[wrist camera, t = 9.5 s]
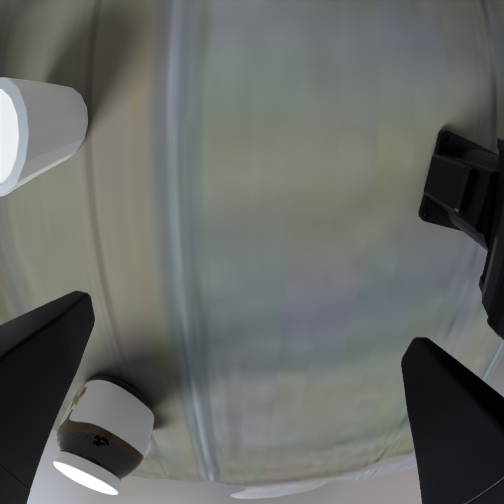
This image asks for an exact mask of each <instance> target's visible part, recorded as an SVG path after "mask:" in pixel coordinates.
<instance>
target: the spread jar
mask: <svg viewBox="0 0 504 504" xmlns="http://www.w3.org/2000/svg"><path fill="white" fill-rule="evenodd" d="M153 425H154V414H153V411H152V409H151V407H150V406H149V404H148V403H147V402H146V400H145V399H144V398H143V397H142V396H141V395H140V394H139V393H138V392H137V391H136V390H135V389H134V388H133V387H131V386H130V385H128V384H126V383H125V382H123V381H120V380H118V379H115V378H112V377H108V376H96V377H93V378H91V379H90V380H88V381H87V382H86V383H85V384H84V385H83V386H82V387H81V388H80V389H79V391H78V392H77V393H76V395H75V396H74V398H73V400H72V401H71V403H70V405H69V407H68V409H67V411H66V413H65V415H64V417H63V419H62V421H61V423H60V425H59V428H58V431H57V444H58V447H59V449H60V451H59V452H58V453H57V455H56V457H55V460H54V462H53V463H54V465H55V467H56V468H57V469H58V470H60V471H61V472H62V473H64V474H65V475H66V476H68V477H69V478H71V479H73V480H75V481H77V482H78V483H80V484H82V485H85V486H86V487H89V488H91V489H94V490H96V491H100V492H102V493H107V494H111V495H117V494H118V493H119V489H120V486H121V479H123V478H125V477H126V476H128V475H129V474H131V473H132V472H133V471H134V470H136V468H137V467H138V466H139V465H140V463H141V462H142V460H143V459H144V458H145V457H146V456H147V455H148V454H149V452H150V449H151V443H150V437H151V433H152V429H153Z"/></svg>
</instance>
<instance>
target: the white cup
mask: <svg viewBox="0 0 504 504" xmlns="http://www.w3.org/2000/svg"><path fill="white" fill-rule="evenodd" d="M87 127H88V113H87V106H86V104H85V102H84V100H83V98H82V95H81V94H79V93H78V92H77V91H76V90H75V89H73V88H72V87H67V86H61V85H56V84H50V83H44V82H37V81H30V80H23V79H14V78H4V77H0V196H5V195H7V194H8V193H10V192H11V191H13V190H15V189H16V188H18V187H19V186H21V185H23V184H24V183H26V182H27V181H29V180H31V179H33V178H34V177H36V176H38V175H39V174H41V173H43V172H45V171H46V170H48V169H50V168H52V167H54V166H55V165H57V164H59V163H61V162H63V161H65V160H67V159H68V158H69V157H71V156H72V155H73V154H74V153H76V152H77V151H78V149H79V148H80V146H81V144H82V142H83V141H84V139H85V135H86V131H87Z"/></svg>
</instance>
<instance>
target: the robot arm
mask: <svg viewBox="0 0 504 504" xmlns="http://www.w3.org/2000/svg"><path fill="white" fill-rule="evenodd" d="M444 135H446V140H444ZM497 148H498V149H499V155H497V154H495V153H493V152H492V151H490V150H488V149H486V148H484V147H482V146H480V145H478V144H476V143H474V142H472V141H469V140H467V139H465V138H463V137H461V136H459V135H456V134H454V133H452V132H449V131H446V130H441V131H440V132H439V134H438V137H437V142H436V147H435V152H434V156H433V157H432V160H431V164H430V168H429V172H428V176H427V180H426V184H425V188H424V196H423V199H422V203H421V206H420V209H419V217H420V218H421V219H422V220H423V221H425V222H429V223H433V224H437V225H441V226H445V227H449V228H453V229H456V230H460V231H463V232H465V233H466V234H467V235H468V236H470V237H471V238H472V239H474V240H475V241H476V242H477V243H479V244H480V245H481V246H482V247H484V248H485V249H486V250H487V251H488V253H487V257H486V262H485V266H484V271H483V275H482V276H481V277H480V281H479V287H480V289H481V292H482V304H483V306H484V308H485V310H486V313H487V315H488V319H487V323H488V324H489V326H490V327H491V328H492V329H493V331H494V332H495V333H496V334H497V335H498V336H499V337H501V338H502V339H503V340H504V139H500V138H497ZM426 211H427V215H426V216H424V213H425V212H426ZM94 322H95V317H94V311H93V306H92V300H91V296H90V295H89V294H88V293H86V292H81V291H74V292H71V293H69V294H67V295H65V296H63V297H60V298H58V299H56V300H54V301H52V302H49V303H47V304H45V305H43V306H41V307H38V308H36V309H34V310H32V311H30V312H28V313H26V314H23V315H21V316H19V317H17V318H15V319H13V320H11V321H9V322H7V323H4V324H2V325H0V504H27V500H28V496H29V493H30V488H31V486H32V483H33V480H34V477H35V474H36V471H37V468H38V465H39V462H40V459H41V456H42V453H43V451H44V448H45V445H46V442H47V440H48V437H49V435H50V432H51V430H52V427H53V425H54V422H55V420H56V417H57V415H58V413H59V410H60V408H61V406H62V403H63V401H64V399H65V396H66V394H67V392H68V390H69V387H70V385H71V383H72V381H73V379H74V377H75V374H76V372H77V370H78V367H79V364H80V362H81V359H82V356H83V353H84V350H85V348H86V345H87V342H88V339H89V337H90V334H91V332H92V329H93V326H94ZM401 367H402V374H403V381H404V389H405V397H406V405H407V411H408V417H409V422H410V427H411V432H412V437H413V443H414V448H415V454H416V460H417V467H418V474H419V481H420V489H421V498H422V504H504V397H503V396H501V395H500V394H499V393H498V392H496V391H495V390H494V389H493V388H491V387H490V386H489V385H488V384H486V383H485V382H484V381H483V380H481V379H480V378H479V377H478V376H476V375H475V374H474V373H473V372H471V371H470V370H469V369H467V368H466V367H465V366H464V365H462V364H461V363H460V362H459V361H457V360H456V359H455V358H453V357H452V356H451V355H449V354H448V353H447V352H446V351H444V350H443V349H442V348H440V347H439V346H438V345H436V344H435V343H434V342H432V341H431V340H430V339H428V338H426V337H416V338H414V339H413V340H412V342H411V343H410V345H409V347H408V349H407V351H406V352H405V354H404V356H403V358H402V362H401Z"/></svg>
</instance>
